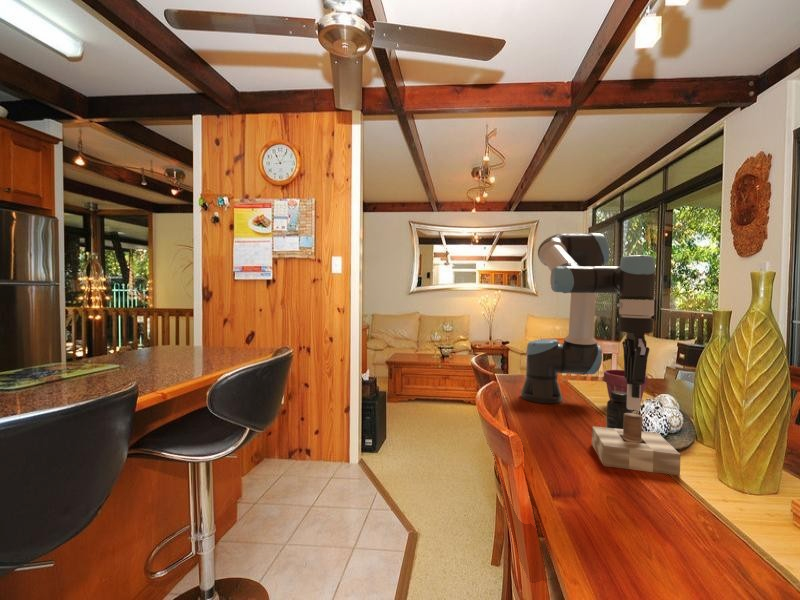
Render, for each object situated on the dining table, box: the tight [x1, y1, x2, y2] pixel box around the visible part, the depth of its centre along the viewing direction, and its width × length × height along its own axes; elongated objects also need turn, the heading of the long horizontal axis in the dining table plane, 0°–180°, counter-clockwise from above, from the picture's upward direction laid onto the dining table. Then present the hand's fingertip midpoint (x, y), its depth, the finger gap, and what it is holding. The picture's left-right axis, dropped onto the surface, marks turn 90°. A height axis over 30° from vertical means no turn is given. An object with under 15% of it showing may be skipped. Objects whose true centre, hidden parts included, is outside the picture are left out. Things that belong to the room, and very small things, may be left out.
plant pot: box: [603, 369, 649, 401], centre depth 141 cm, size 14×14×13 cm
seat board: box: [591, 426, 681, 476], centre depth 97 cm, size 14×16×5 cm
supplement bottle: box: [605, 391, 634, 429], centre depth 116 cm, size 7×7×12 cm
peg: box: [623, 412, 643, 443], centre depth 97 cm, size 4×4×11 cm
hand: (633, 409), depth 97 cm, fingers closed
